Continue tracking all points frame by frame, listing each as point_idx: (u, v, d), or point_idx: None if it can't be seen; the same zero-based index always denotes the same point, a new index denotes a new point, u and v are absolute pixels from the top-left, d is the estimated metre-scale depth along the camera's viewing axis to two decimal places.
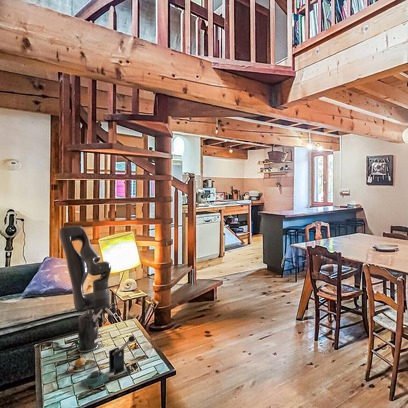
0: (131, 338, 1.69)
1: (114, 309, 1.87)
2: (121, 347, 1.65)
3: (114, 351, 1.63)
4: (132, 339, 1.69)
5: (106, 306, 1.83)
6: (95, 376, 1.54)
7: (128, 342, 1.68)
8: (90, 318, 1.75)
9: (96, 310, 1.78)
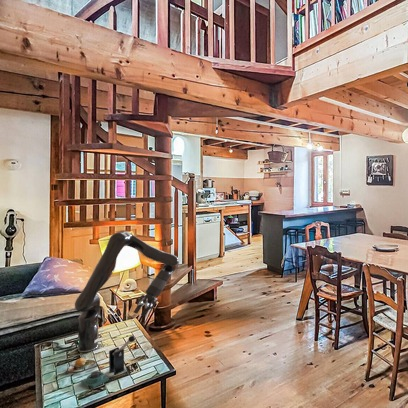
0: (131, 338, 1.69)
1: None
2: (121, 347, 1.65)
3: (114, 351, 1.63)
4: (132, 339, 1.69)
5: None
6: (95, 376, 1.54)
7: (128, 342, 1.68)
8: None
9: None
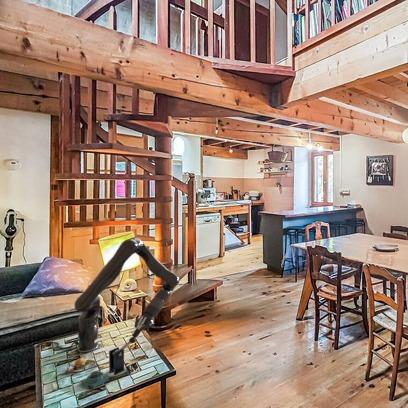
0: (132, 339, 1.70)
1: None
2: None
3: (114, 351, 1.63)
4: (133, 340, 1.70)
5: None
6: (95, 376, 1.54)
7: (129, 343, 1.68)
8: None
9: None
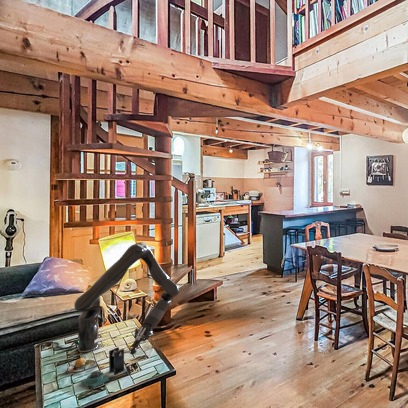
0: (134, 349, 1.71)
1: None
2: None
3: (116, 350, 1.64)
4: (134, 351, 1.70)
5: None
6: (95, 376, 1.54)
7: (129, 351, 1.69)
8: None
9: None
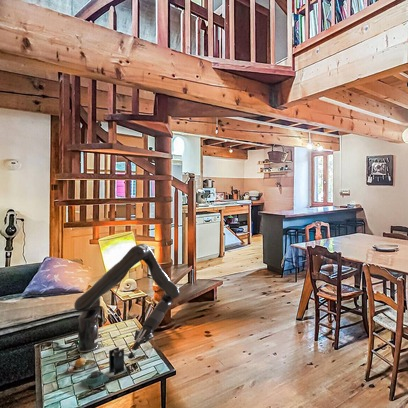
0: (132, 353, 1.70)
1: None
2: None
3: (116, 350, 1.64)
4: (132, 355, 1.70)
5: None
6: (95, 376, 1.54)
7: (128, 354, 1.68)
8: None
9: None
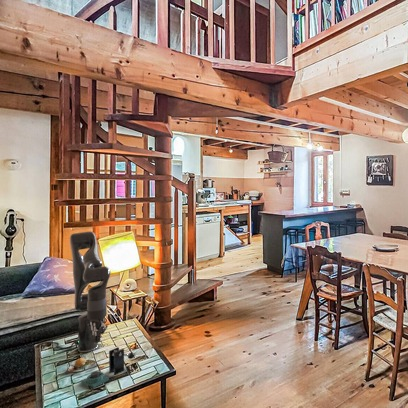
0: (132, 353, 1.70)
1: None
2: None
3: (116, 350, 1.64)
4: (132, 355, 1.70)
5: None
6: (95, 376, 1.54)
7: (128, 354, 1.68)
8: None
9: None
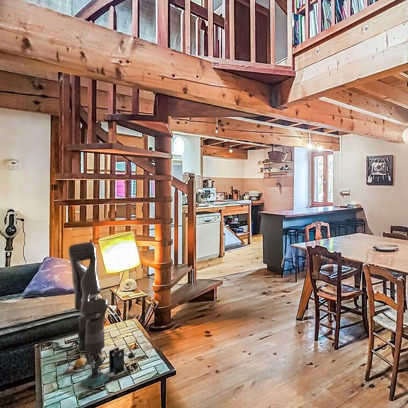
0: (132, 353, 1.70)
1: None
2: None
3: (116, 350, 1.64)
4: (132, 355, 1.70)
5: None
6: (95, 376, 1.54)
7: (128, 354, 1.68)
8: None
9: None
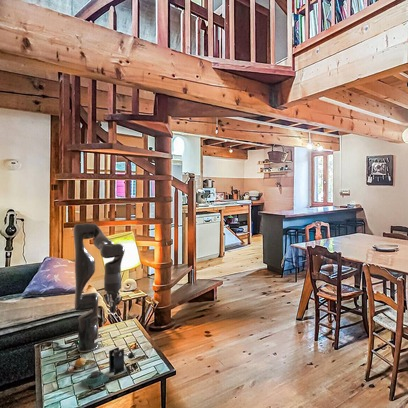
0: (132, 353, 1.70)
1: None
2: None
3: (116, 350, 1.64)
4: (132, 355, 1.70)
5: None
6: (95, 376, 1.54)
7: (128, 354, 1.68)
8: None
9: None
